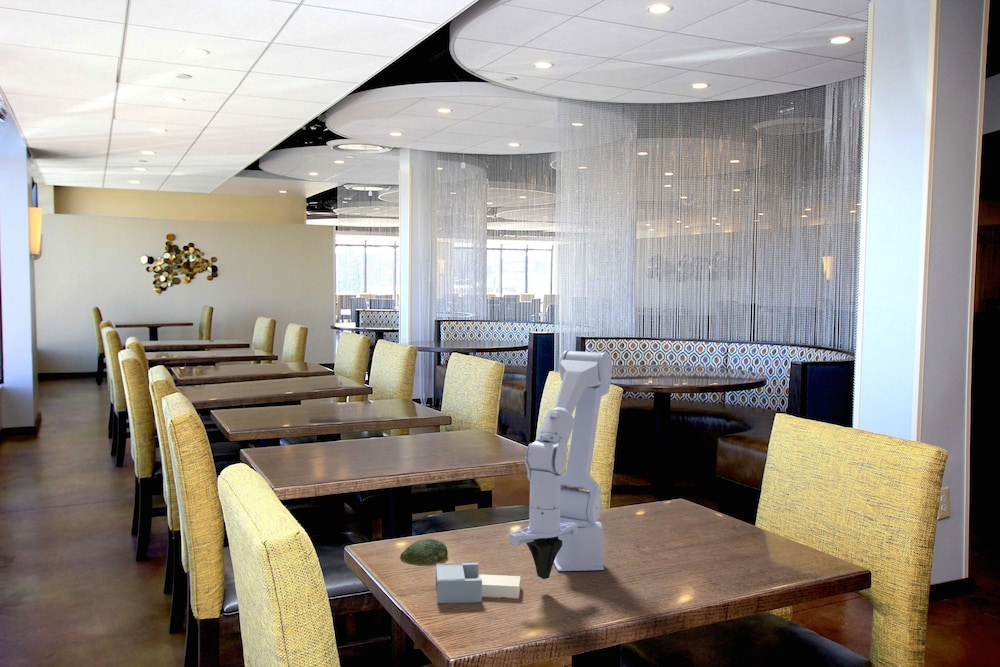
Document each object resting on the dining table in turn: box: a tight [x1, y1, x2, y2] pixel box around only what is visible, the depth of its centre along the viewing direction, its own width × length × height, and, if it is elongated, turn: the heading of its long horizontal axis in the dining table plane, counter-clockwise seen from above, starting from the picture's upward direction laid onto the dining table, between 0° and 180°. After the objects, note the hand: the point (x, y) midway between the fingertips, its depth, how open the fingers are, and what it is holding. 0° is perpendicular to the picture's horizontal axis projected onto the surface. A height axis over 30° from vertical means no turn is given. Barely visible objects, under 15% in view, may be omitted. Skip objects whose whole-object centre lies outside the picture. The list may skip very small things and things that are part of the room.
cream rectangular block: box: [478, 573, 522, 599], centre depth 145 cm, size 8×5×3 cm, turn 86°
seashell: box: [399, 538, 449, 566], centre depth 163 cm, size 10×4×10 cm
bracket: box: [435, 562, 483, 604], centre depth 144 cm, size 8×9×4 cm
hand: (543, 576), depth 145 cm, fingers closed
